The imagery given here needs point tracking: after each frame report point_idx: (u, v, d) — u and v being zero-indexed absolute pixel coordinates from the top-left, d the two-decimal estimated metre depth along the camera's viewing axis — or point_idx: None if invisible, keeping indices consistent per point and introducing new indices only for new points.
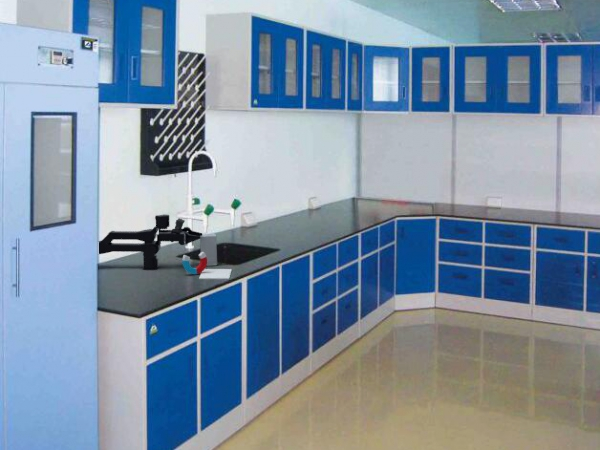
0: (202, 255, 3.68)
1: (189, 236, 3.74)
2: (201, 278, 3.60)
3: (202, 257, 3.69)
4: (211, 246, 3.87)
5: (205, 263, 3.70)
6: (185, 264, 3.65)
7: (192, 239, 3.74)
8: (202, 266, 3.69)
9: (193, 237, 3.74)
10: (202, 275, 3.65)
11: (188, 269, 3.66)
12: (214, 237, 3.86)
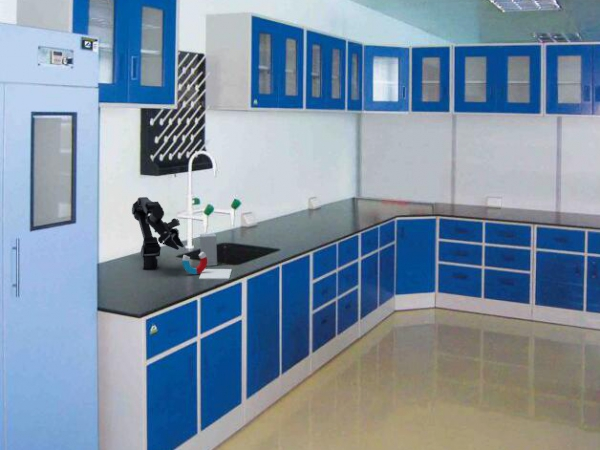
0: (202, 255, 3.68)
1: (171, 240, 3.63)
2: (201, 278, 3.60)
3: (202, 257, 3.69)
4: (211, 246, 3.87)
5: (205, 263, 3.70)
6: (185, 264, 3.65)
7: (171, 245, 3.64)
8: (202, 266, 3.69)
9: (173, 244, 3.64)
10: (202, 275, 3.65)
11: (188, 269, 3.66)
12: (214, 237, 3.86)
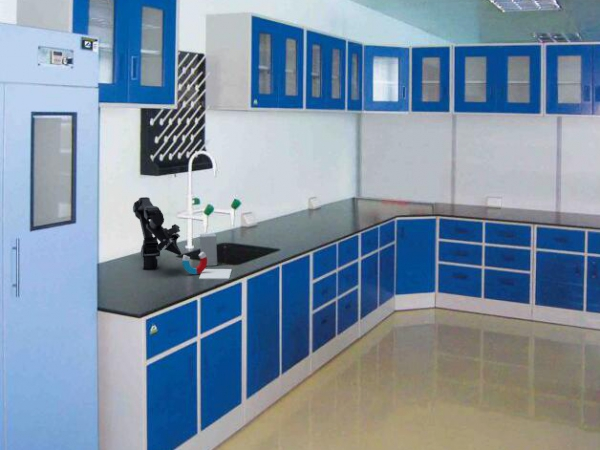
0: (202, 255, 3.68)
1: (173, 246, 3.67)
2: (201, 278, 3.60)
3: (202, 257, 3.69)
4: (211, 246, 3.87)
5: (205, 263, 3.70)
6: (185, 264, 3.65)
7: (173, 250, 3.68)
8: (202, 266, 3.69)
9: (175, 249, 3.68)
10: (202, 275, 3.65)
11: (188, 269, 3.66)
12: (214, 237, 3.86)
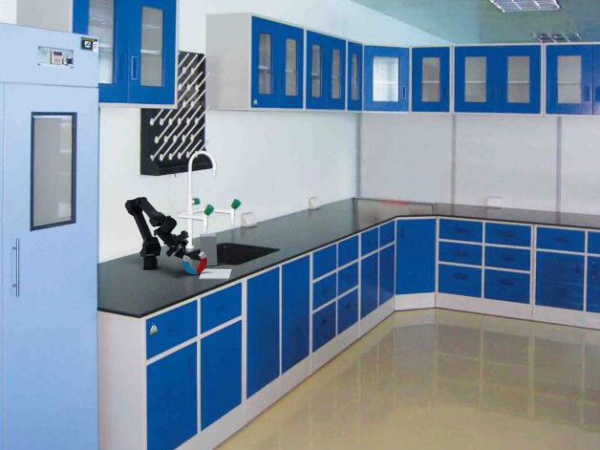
0: (202, 255, 3.68)
1: (182, 252, 3.67)
2: (201, 278, 3.60)
3: (202, 257, 3.68)
4: (211, 246, 3.87)
5: (205, 263, 3.69)
6: (185, 265, 3.64)
7: (182, 256, 3.67)
8: (202, 266, 3.69)
9: None
10: (202, 275, 3.65)
11: (188, 269, 3.66)
12: (214, 237, 3.86)
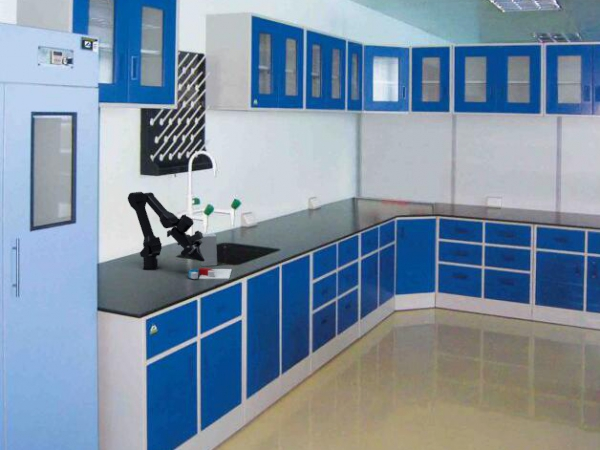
0: (210, 276, 3.62)
1: (196, 252, 3.66)
2: (201, 278, 3.60)
3: None
4: (211, 246, 3.87)
5: None
6: None
7: (196, 257, 3.66)
8: None
9: (198, 256, 3.66)
10: (202, 275, 3.65)
11: None
12: (214, 237, 3.86)
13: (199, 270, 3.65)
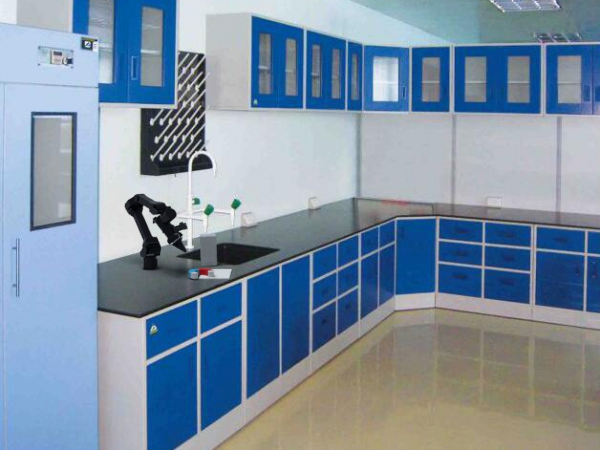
0: (210, 276, 3.62)
1: (180, 242, 3.68)
2: (201, 278, 3.60)
3: None
4: (211, 246, 3.87)
5: None
6: None
7: (179, 247, 3.68)
8: None
9: (181, 246, 3.68)
10: (202, 275, 3.65)
11: None
12: (214, 237, 3.86)
13: (199, 270, 3.65)
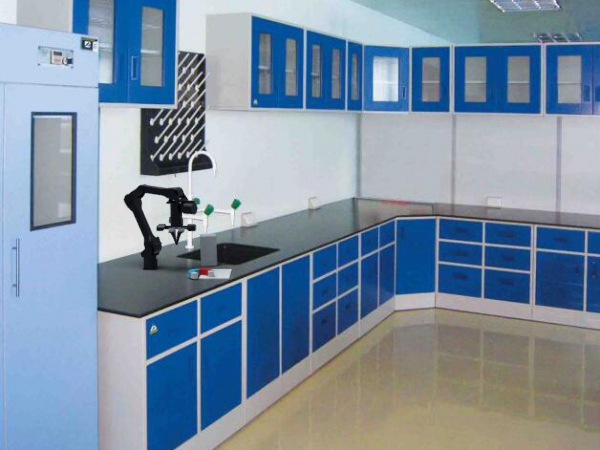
0: (210, 276, 3.62)
1: None
2: (201, 278, 3.60)
3: None
4: (211, 246, 3.87)
5: None
6: None
7: (179, 237, 3.73)
8: None
9: (179, 238, 3.74)
10: (202, 275, 3.65)
11: None
12: (214, 237, 3.86)
13: (199, 270, 3.65)
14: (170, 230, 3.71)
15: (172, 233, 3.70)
